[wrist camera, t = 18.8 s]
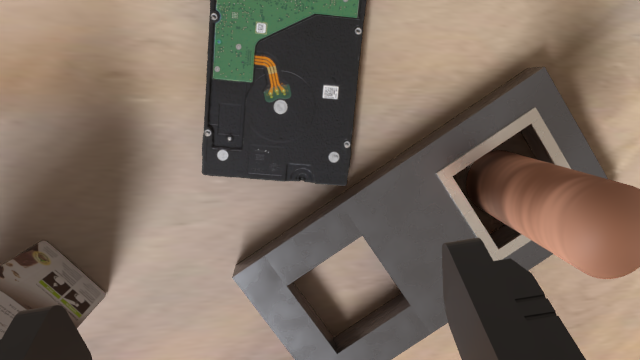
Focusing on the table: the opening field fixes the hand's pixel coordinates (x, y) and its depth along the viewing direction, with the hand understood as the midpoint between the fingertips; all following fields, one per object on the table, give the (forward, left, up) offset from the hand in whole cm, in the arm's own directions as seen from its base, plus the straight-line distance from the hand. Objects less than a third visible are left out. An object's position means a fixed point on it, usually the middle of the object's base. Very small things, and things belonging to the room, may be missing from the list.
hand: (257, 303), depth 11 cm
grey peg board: (+5, -11, -27) cm, 30 cm away
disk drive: (+3, +4, -28) cm, 28 cm away
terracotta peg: (+12, -11, -27) cm, 32 cm away
